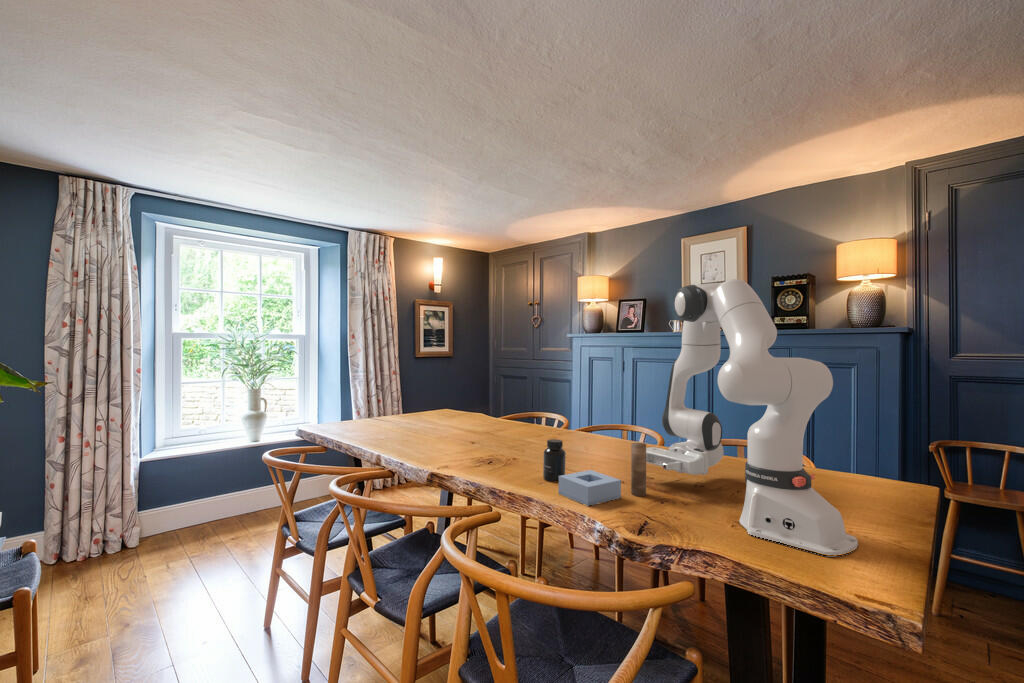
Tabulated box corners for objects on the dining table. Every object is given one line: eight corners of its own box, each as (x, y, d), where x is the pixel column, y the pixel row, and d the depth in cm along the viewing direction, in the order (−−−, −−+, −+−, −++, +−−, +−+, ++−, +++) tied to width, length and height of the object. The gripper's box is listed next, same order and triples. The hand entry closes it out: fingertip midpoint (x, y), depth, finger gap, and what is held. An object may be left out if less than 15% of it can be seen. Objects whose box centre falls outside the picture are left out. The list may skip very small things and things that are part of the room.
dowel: (649, 494, 128) (649, 444, 128) (639, 497, 126) (639, 446, 126) (637, 491, 132) (638, 442, 132) (628, 493, 129) (628, 443, 130)
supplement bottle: (541, 481, 140) (541, 442, 141) (545, 475, 147) (545, 437, 147) (563, 483, 139) (564, 443, 139) (566, 477, 145) (566, 438, 146)
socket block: (620, 498, 125) (620, 480, 125) (587, 506, 118) (588, 487, 118) (590, 487, 135) (590, 469, 135) (558, 493, 128) (558, 475, 129)
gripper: (655, 440, 148) (624, 445, 141) (712, 453, 131) (681, 459, 123) (655, 460, 148) (624, 466, 140) (712, 475, 131) (681, 483, 123)
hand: (651, 463), depth 132 cm, fingers open, 8 cm apart
